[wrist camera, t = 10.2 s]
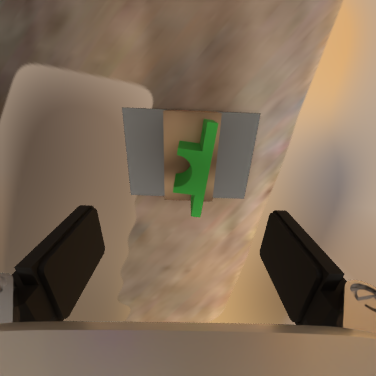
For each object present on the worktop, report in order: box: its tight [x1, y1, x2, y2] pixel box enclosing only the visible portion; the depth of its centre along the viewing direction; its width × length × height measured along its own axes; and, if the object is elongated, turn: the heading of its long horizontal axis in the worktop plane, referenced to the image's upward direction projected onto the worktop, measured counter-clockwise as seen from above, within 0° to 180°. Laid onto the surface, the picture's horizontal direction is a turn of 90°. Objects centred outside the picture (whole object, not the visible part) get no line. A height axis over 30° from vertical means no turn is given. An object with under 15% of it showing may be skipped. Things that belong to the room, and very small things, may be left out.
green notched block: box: [173, 119, 219, 217], centre depth 22 cm, size 11×4×5 cm, turn 172°
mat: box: [122, 108, 260, 199], centre depth 29 cm, size 14×20×1 cm
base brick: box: [163, 110, 222, 201], centre depth 26 cm, size 12×7×5 cm, turn 178°
